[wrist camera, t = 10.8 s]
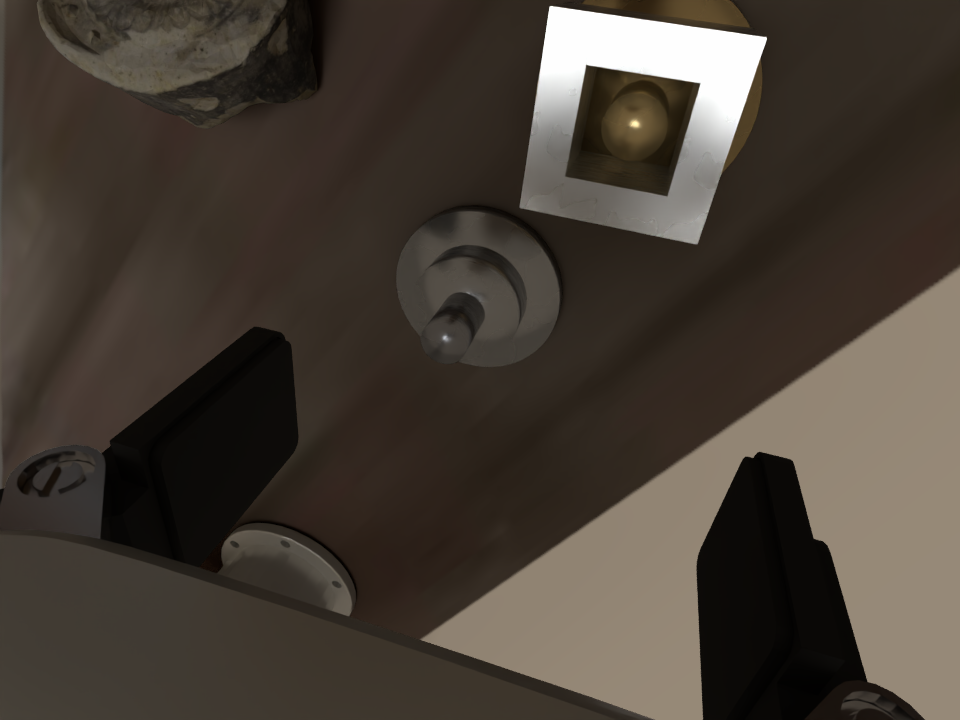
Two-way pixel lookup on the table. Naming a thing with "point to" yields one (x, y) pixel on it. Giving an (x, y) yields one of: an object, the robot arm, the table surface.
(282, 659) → the robot arm
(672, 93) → the hub
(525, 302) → the stand
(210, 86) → the fossil
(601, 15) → the square sleeve
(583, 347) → the table surface
